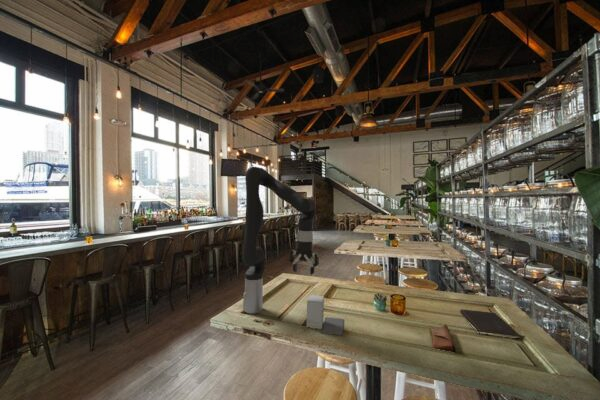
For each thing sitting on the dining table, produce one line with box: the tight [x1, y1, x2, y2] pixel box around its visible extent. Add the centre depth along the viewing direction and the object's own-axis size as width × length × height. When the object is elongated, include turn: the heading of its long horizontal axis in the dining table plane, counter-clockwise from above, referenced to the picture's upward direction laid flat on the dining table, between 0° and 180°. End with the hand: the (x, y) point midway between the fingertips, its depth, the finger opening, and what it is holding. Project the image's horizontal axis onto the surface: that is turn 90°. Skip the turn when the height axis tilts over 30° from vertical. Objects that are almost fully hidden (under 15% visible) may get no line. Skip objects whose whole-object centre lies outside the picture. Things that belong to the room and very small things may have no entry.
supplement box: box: [306, 294, 325, 330], centre depth 122 cm, size 7×7×13 cm
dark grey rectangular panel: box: [321, 316, 345, 336], centre depth 121 cm, size 9×15×1 cm, turn 169°
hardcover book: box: [459, 308, 521, 338], centre depth 125 cm, size 16×23×2 cm
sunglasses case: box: [428, 324, 457, 354], centre depth 110 cm, size 18×7×7 cm
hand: (303, 273), depth 125 cm, fingers open, 8 cm apart
